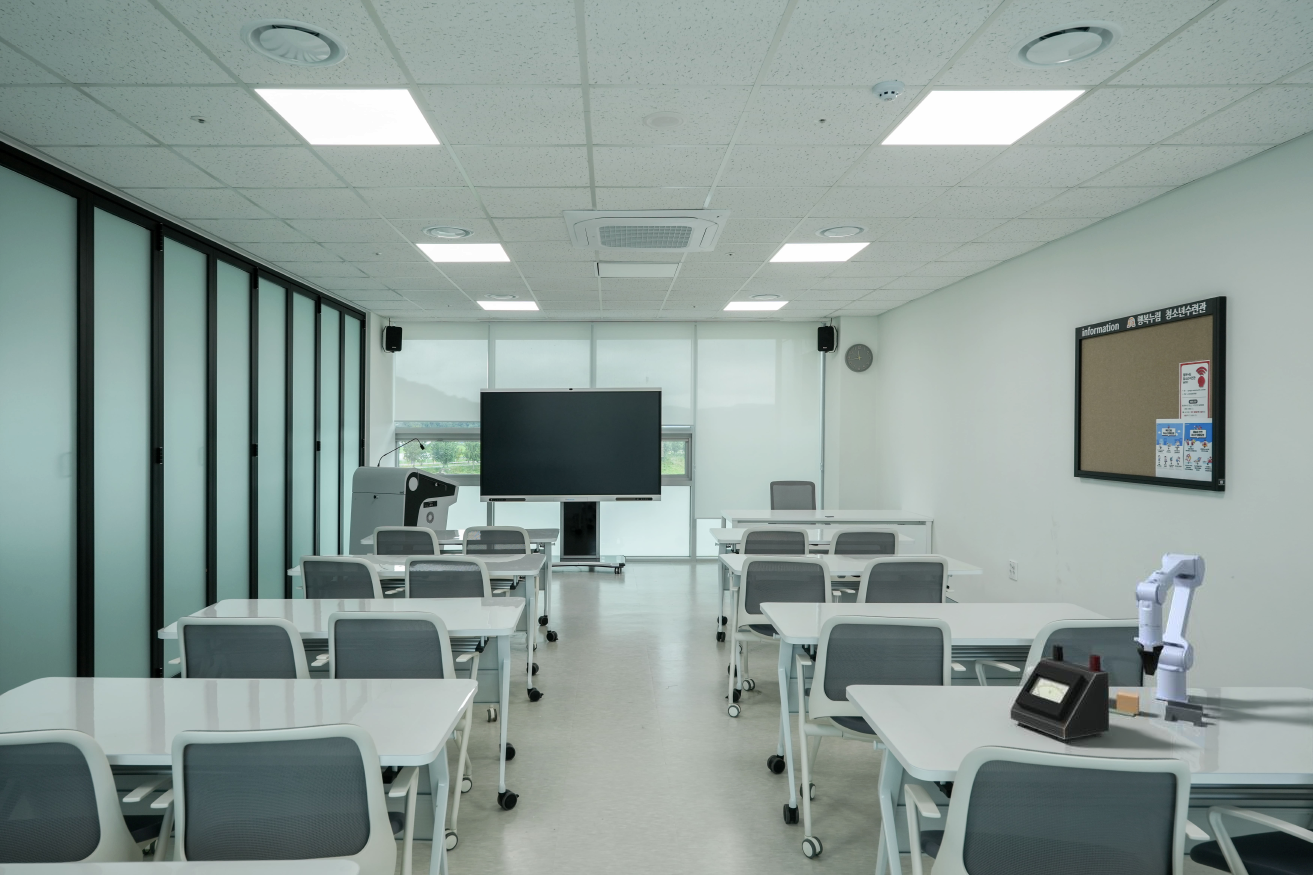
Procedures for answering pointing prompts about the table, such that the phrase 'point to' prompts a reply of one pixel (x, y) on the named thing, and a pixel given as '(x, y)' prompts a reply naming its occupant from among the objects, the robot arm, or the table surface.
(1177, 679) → the robot arm
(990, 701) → the table surface
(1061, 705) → the voltmeter
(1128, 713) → the mat
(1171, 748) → the table surface
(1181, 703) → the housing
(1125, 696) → the plug
